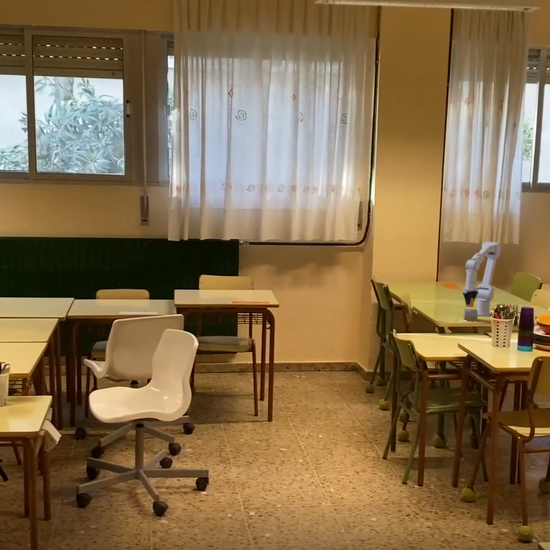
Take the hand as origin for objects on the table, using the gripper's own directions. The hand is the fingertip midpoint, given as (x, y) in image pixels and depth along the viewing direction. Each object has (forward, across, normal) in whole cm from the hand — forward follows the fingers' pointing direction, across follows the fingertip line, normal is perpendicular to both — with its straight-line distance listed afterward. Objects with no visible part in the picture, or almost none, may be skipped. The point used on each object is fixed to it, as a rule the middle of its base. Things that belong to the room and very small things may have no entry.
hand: (469, 303), depth 402 cm
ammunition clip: (+10, -6, +21) cm, 24 cm away
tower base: (+10, 0, +1) cm, 10 cm away
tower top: (+7, 0, +1) cm, 7 cm away
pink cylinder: (+1, 0, 0) cm, 1 cm away
